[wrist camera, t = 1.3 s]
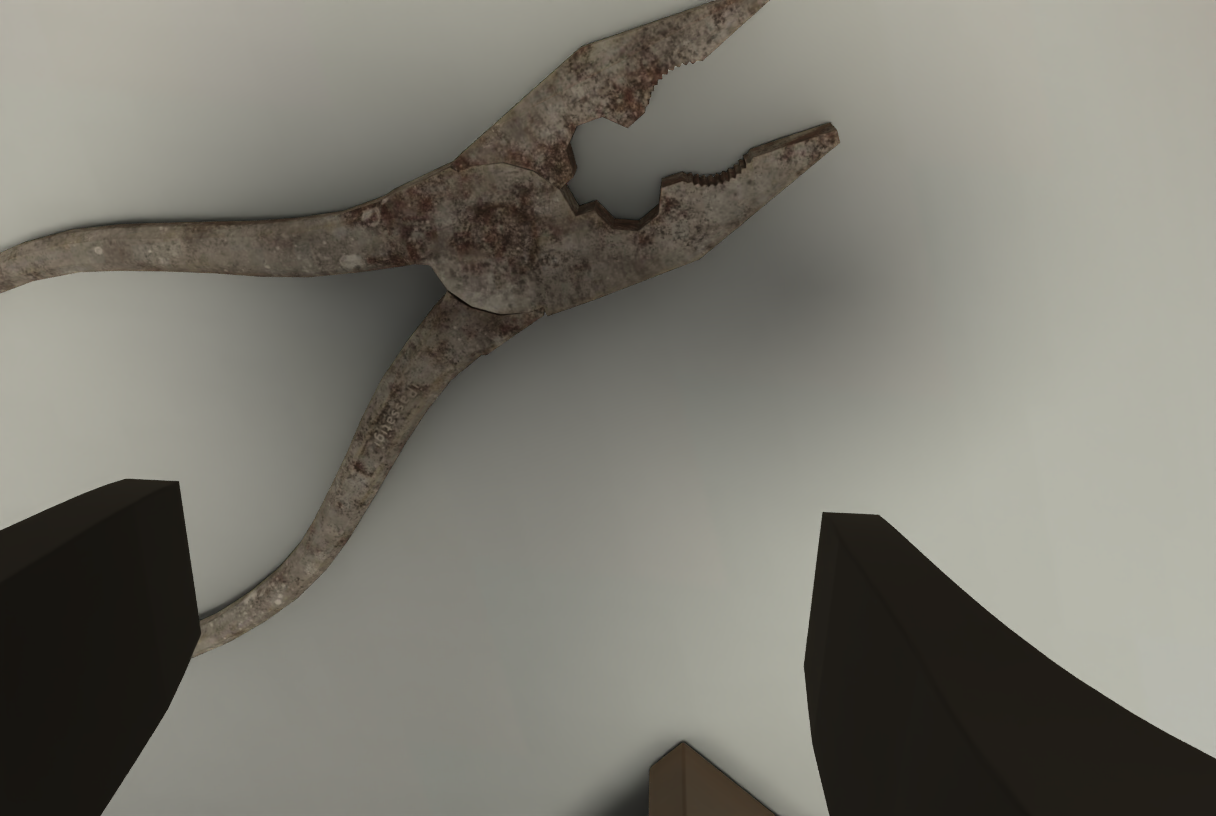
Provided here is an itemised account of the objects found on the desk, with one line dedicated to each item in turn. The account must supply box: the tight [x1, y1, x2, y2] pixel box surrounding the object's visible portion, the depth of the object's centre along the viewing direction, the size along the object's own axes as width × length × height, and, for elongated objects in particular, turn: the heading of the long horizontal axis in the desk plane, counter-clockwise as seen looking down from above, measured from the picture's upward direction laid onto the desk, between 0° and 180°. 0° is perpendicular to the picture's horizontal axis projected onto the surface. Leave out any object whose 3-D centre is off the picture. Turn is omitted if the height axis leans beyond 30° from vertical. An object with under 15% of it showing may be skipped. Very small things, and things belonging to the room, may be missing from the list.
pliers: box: [0, 0, 840, 658], centre depth 21 cm, size 10×1×20 cm
